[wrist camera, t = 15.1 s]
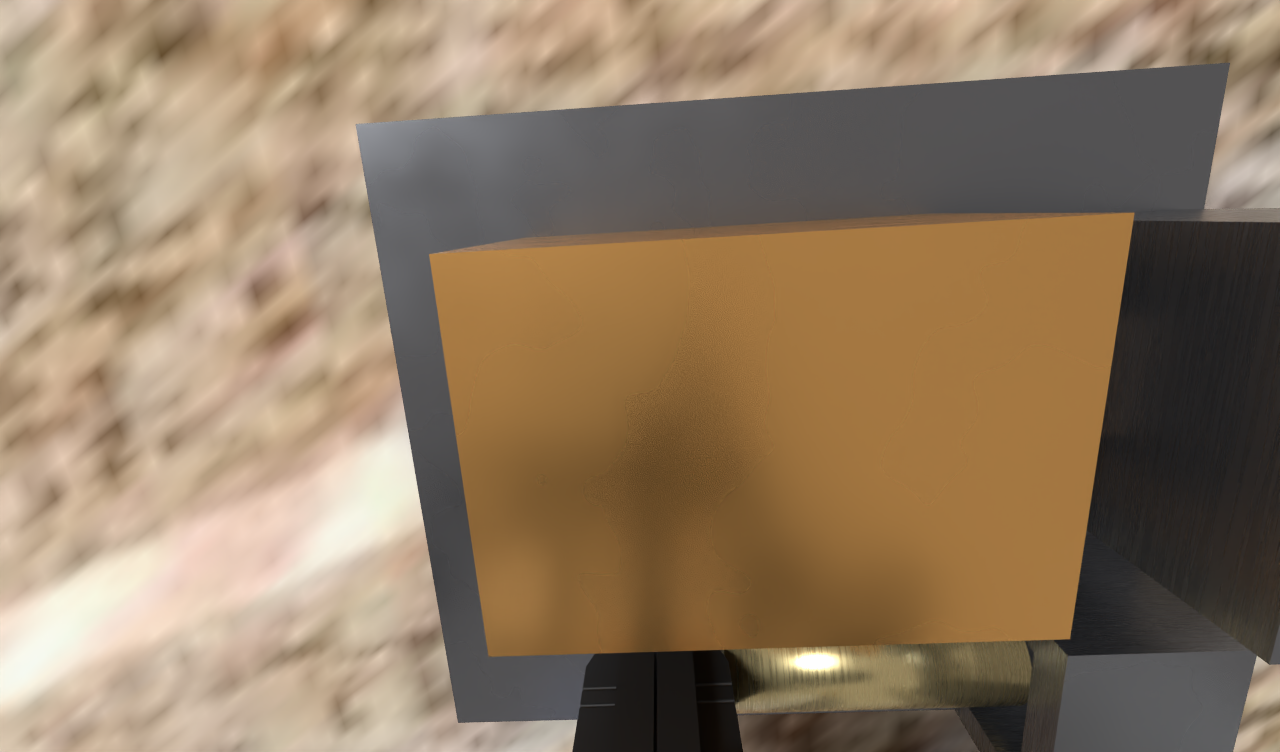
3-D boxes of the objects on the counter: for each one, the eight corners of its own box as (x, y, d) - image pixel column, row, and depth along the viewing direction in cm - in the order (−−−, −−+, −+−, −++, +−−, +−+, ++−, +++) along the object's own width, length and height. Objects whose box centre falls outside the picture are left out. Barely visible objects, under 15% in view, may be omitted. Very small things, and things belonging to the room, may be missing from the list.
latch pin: (975, 658, 14) (1026, 729, 12) (719, 666, 14) (729, 736, 12) (983, 583, 13) (1038, 645, 12) (717, 593, 14) (727, 655, 12)
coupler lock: (915, 480, 13) (1070, 639, 8) (549, 495, 13) (487, 656, 8) (933, 213, 11) (1134, 211, 7) (522, 237, 12) (429, 253, 7)
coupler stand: (1086, 674, 15) (1427, 1039, 8) (470, 691, 16) (332, 1043, 9) (1182, 75, 12) (1911, -118, 5) (378, 131, 12) (40, 28, 6)
